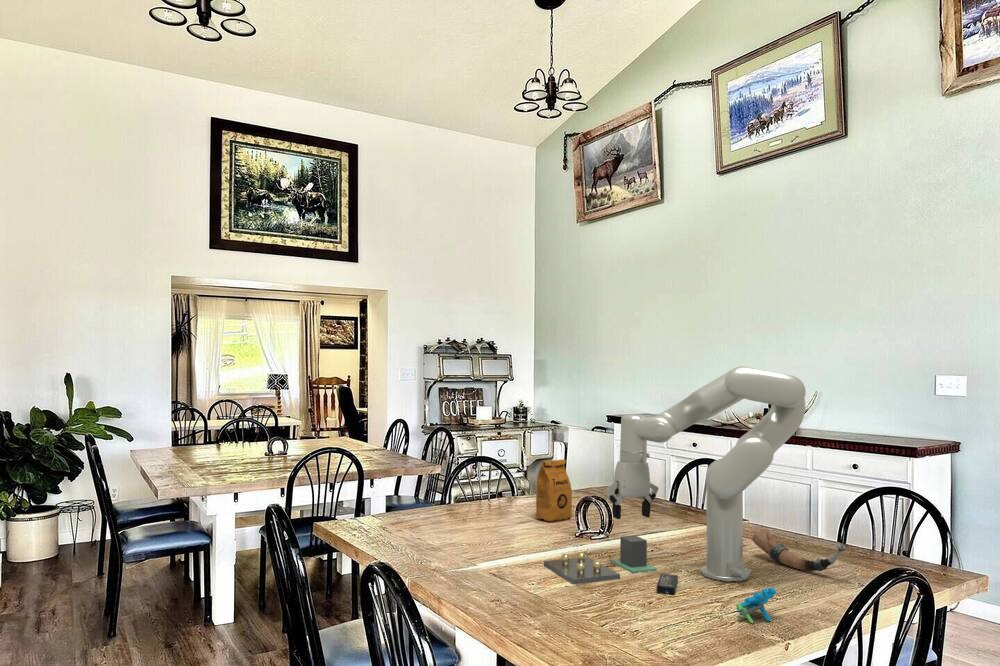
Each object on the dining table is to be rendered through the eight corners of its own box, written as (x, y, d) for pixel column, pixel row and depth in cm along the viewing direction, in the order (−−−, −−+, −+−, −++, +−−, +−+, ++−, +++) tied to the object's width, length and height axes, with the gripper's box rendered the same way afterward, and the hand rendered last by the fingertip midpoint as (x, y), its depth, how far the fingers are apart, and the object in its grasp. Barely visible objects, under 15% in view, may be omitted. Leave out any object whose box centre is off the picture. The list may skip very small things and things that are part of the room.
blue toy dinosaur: (760, 601, 164) (780, 580, 158) (776, 624, 160) (796, 604, 154) (724, 613, 160) (742, 592, 153) (739, 638, 156) (758, 617, 149)
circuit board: (657, 571, 193) (657, 542, 193) (632, 574, 190) (632, 544, 191) (634, 559, 204) (634, 532, 205) (610, 562, 201) (610, 534, 202)
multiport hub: (678, 583, 183) (678, 575, 183) (674, 597, 172) (674, 587, 172) (660, 582, 184) (660, 573, 184) (656, 595, 174) (656, 585, 174)
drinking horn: (761, 554, 211) (761, 521, 212) (851, 582, 185) (851, 544, 185) (748, 556, 208) (748, 523, 209) (838, 585, 182) (837, 547, 183)
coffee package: (575, 520, 255) (576, 460, 256) (548, 524, 248) (548, 462, 249) (559, 515, 263) (560, 457, 264) (532, 518, 257) (533, 459, 258)
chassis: (620, 578, 185) (620, 564, 185) (573, 584, 180) (573, 569, 180) (587, 560, 202) (587, 548, 202) (544, 565, 197) (544, 552, 197)
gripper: (650, 455, 205) (649, 513, 205) (600, 456, 199) (598, 515, 198) (665, 458, 198) (664, 518, 198) (613, 460, 192) (612, 522, 191)
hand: (631, 517), depth 198 cm, fingers open, 9 cm apart
